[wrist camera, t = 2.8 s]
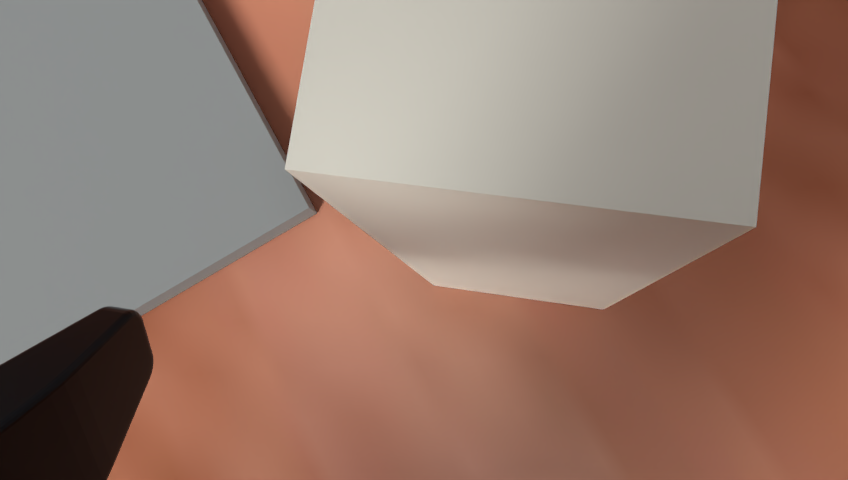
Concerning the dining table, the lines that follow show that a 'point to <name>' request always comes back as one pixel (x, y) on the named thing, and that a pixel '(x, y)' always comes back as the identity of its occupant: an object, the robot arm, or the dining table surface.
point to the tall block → (538, 136)
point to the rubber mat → (125, 161)
